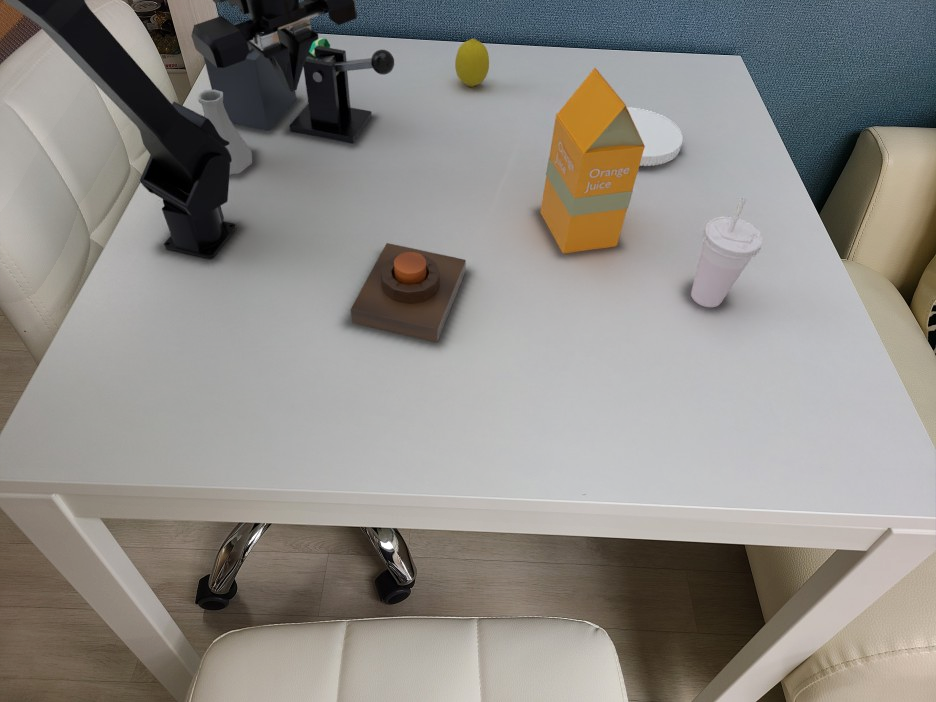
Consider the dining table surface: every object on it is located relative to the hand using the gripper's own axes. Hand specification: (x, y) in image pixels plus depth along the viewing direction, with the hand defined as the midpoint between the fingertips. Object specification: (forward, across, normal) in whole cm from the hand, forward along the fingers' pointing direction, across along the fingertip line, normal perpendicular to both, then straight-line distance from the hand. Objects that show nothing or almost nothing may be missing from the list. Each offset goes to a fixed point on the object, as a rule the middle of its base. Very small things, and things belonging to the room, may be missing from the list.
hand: (291, 89), depth 84 cm
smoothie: (+14, -24, +50) cm, 58 cm away
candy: (+14, -17, -32) cm, 39 cm away
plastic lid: (+15, -43, +23) cm, 51 cm away
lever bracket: (+13, -9, -8) cm, 18 cm away
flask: (+12, +8, -9) cm, 17 cm away
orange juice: (+14, -21, +32) cm, 41 cm away
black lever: (+5, -13, -5) cm, 14 cm away
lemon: (+15, -34, -5) cm, 38 cm away
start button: (+8, +4, +29) cm, 30 cm away
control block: (+12, +4, +29) cm, 31 cm away
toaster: (+13, -3, -18) cm, 23 cm away
